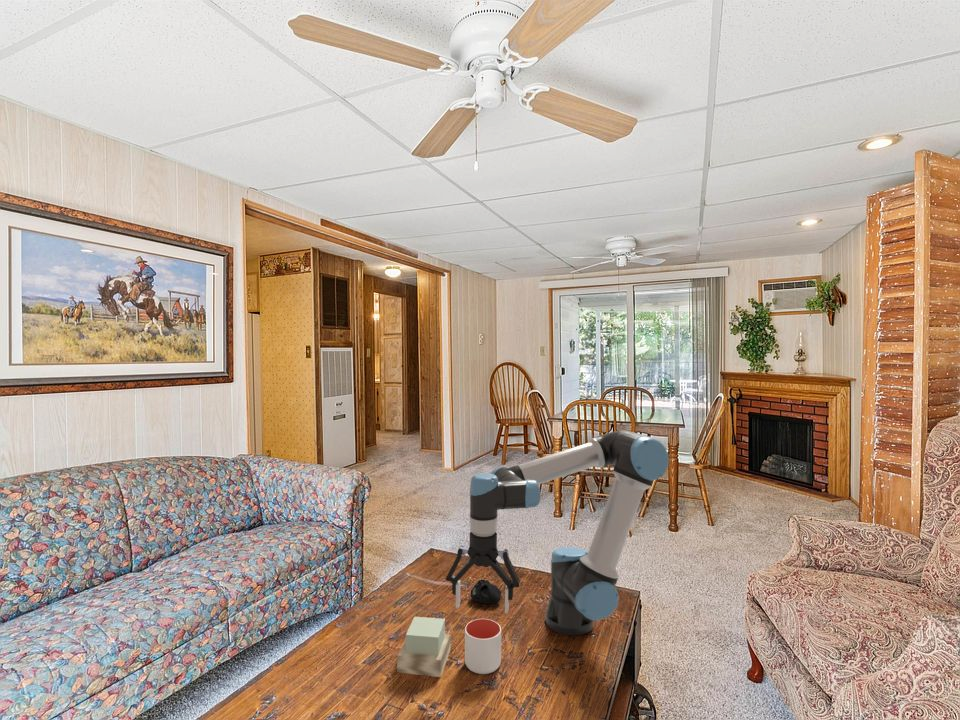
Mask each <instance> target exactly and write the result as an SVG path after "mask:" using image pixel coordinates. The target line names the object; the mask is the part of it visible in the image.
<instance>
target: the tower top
mask: <svg viewBox="0 0 960 720" xmlns="http://www.w3.org/2000/svg"><path fill="white" fill-rule="evenodd" d="M445 633H446V618H437V617H426V616H424V617H423V616H422V617H421V616H414V617H413V618H412V621H411V623H410V626H409V627H408V630H407V631H406V634H405V640H406V653H411V654H423V655H434V656H439V653H440V650H441V647H442V644H443V641H444V638H445Z"/></svg>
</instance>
